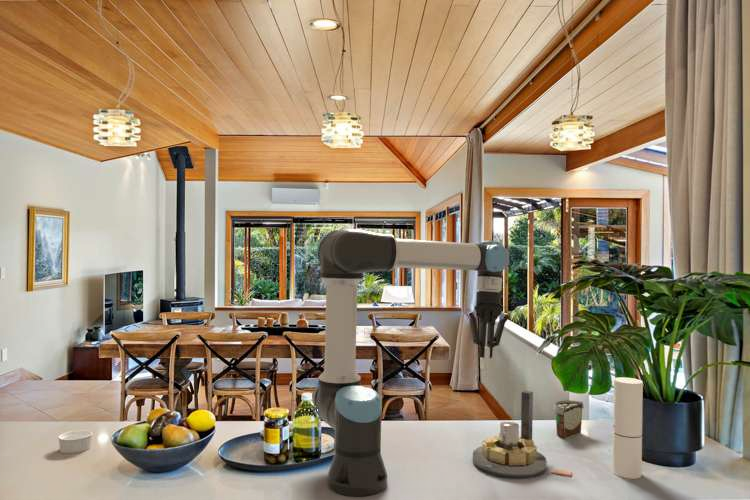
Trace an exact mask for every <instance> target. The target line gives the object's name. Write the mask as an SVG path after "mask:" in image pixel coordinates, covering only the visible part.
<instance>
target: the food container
mask: <svg viewBox="0 0 750 500" xmlns="http://www.w3.org/2000/svg"><path fill="white" fill-rule="evenodd" d="M583 410H584V403H583V401H578V400H567V399H565V400H558V401H555V403H554V406H553V410H552V411H554V412H555V423H556V436H557V437H559V438H560V439H563V440H568V439H569V438H572V437H575V436H577V435H580V434H581V433H582V423H583V422H582V420H583Z"/></svg>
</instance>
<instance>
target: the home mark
mask: <svg viewBox="0 0 750 500" xmlns="http://www.w3.org/2000/svg"><path fill="white" fill-rule="evenodd" d="M550 473H551V474H554V475H559V476H564V477H571V476H572V474H573V472H572V471H570V470H564V469H558V468H552V469H551V471H550Z"/></svg>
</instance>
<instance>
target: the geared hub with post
mask: <svg viewBox="0 0 750 500" xmlns="http://www.w3.org/2000/svg"><path fill="white" fill-rule="evenodd" d="M533 401H534V391H529V390H523V391H521V404H520V405H521V406H520V407H521V409H520V410H521V411H520V412H521V414H520V416H521V417H520V419H521V420H520V423H521V424H520V436H519V446H518V447H511V450H506V449H503V448H500V432H498V435H494V436H489V437H487V438H486V439H483V440H482V441H481V442H482V445H481V446H482V453H483V454H484V456H485V457H486V459H489V460H490V461H493V462H497V463H500V464H504V465H505V464H507V463H508V465H526V464H530V463H532V462H533V461H535V460H536V458H537V452H538V451H537V450H538V448H537V446H536V445H535V442H534V440H533V414H534V413H533V412H534V410H533V409H534V407H533V404H534V403H533Z"/></svg>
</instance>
